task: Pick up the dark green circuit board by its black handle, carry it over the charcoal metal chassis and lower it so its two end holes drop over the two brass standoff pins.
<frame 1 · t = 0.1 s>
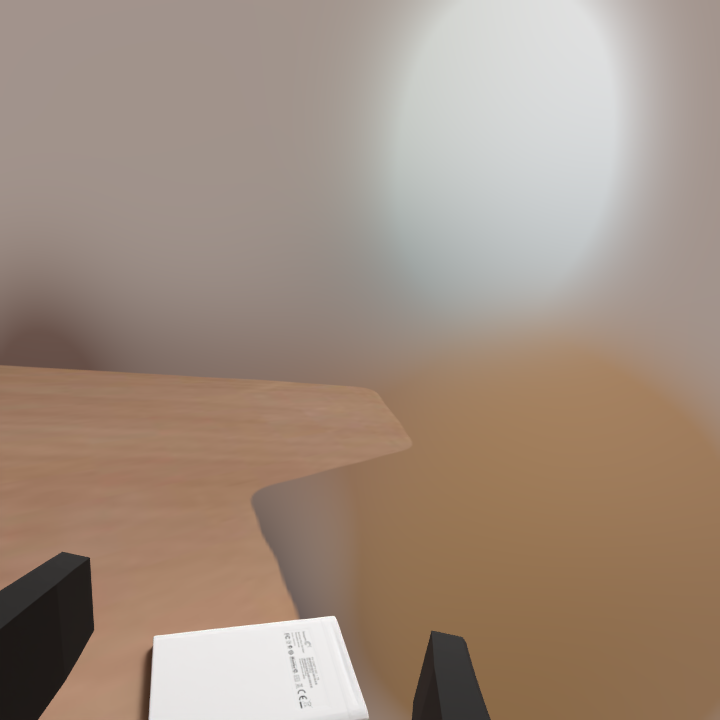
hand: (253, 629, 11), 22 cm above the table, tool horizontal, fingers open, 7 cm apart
external hard drive: (254, 694, 34), on the table
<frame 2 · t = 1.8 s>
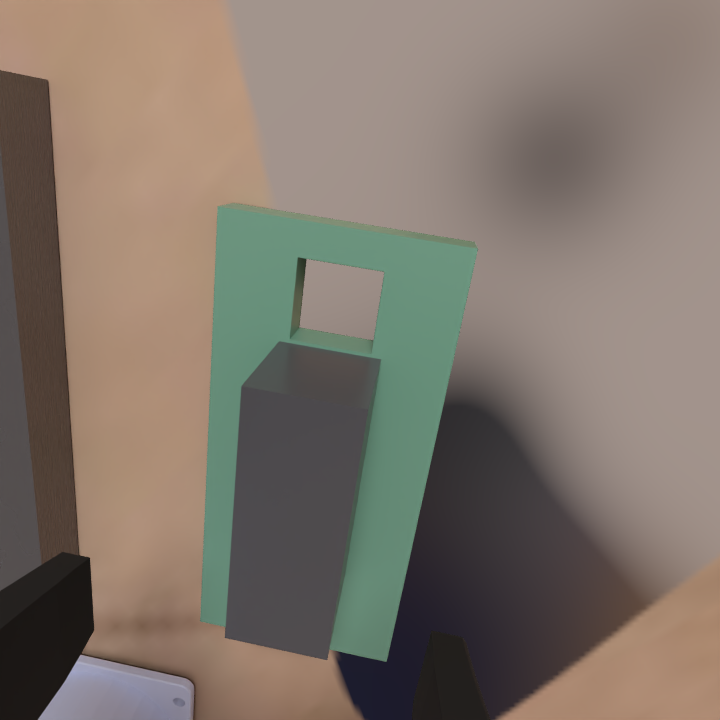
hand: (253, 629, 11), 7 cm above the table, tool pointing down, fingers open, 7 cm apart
board: (321, 448, 18), on the table
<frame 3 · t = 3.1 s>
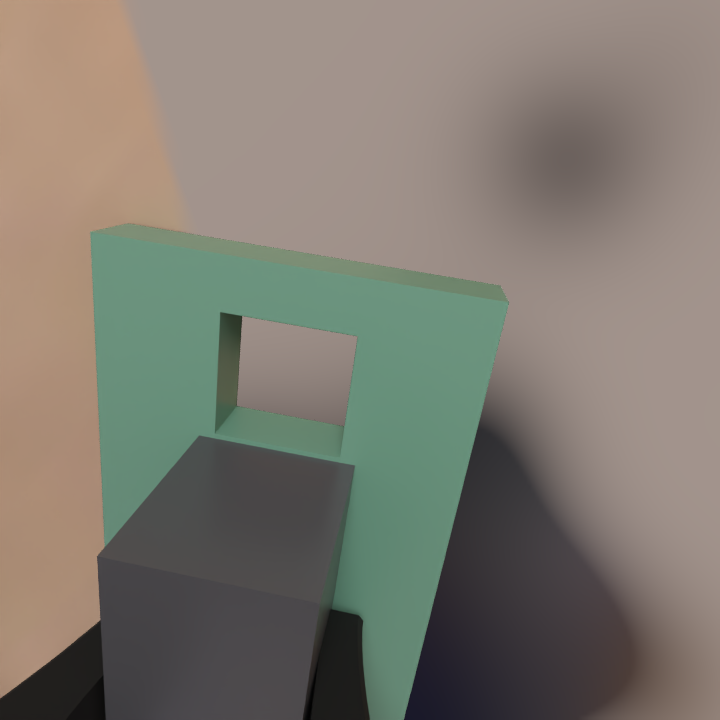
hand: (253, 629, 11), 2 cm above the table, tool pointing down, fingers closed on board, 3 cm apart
board: (276, 570, 13), on the table, touching gripper
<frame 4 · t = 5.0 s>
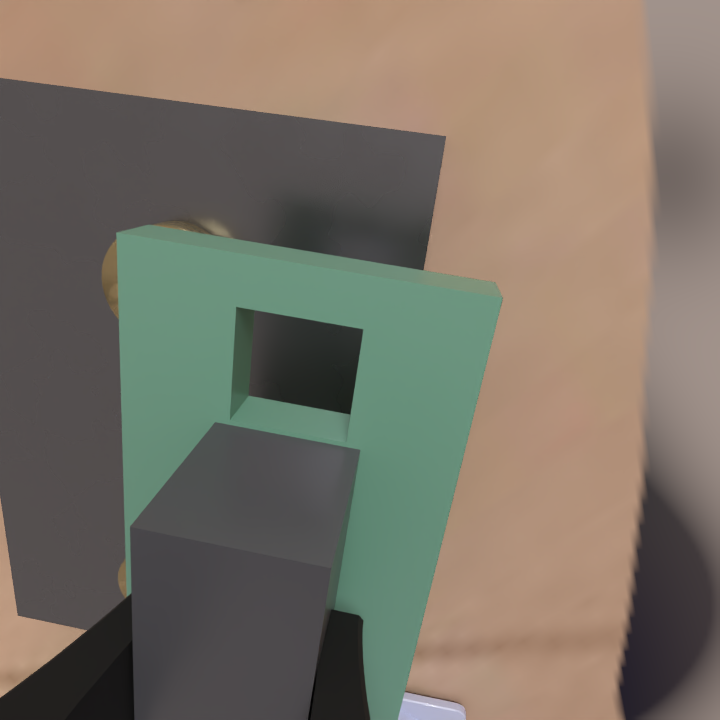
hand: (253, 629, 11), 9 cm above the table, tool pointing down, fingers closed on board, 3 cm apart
board: (284, 551, 13), point 6 cm above the table, touching gripper
chassis: (205, 406, 20), on the table
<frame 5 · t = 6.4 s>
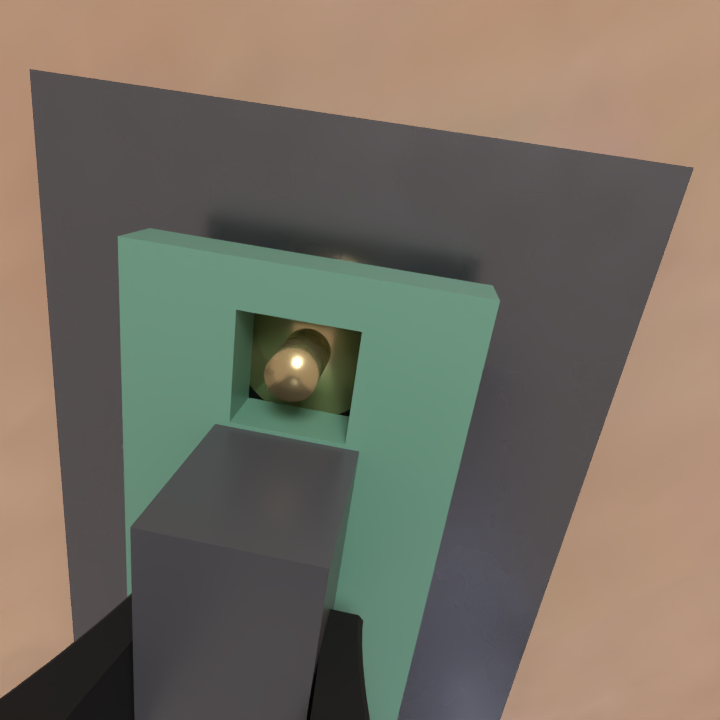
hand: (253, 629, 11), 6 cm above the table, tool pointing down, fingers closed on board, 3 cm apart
board: (284, 552, 13), point 3 cm above the table, touching chassis, gripper
chassis: (314, 471, 17), on the table
when the fingers open (6 cm above the table, at t = 7.0 s): board stays where it is, resting on chassis.
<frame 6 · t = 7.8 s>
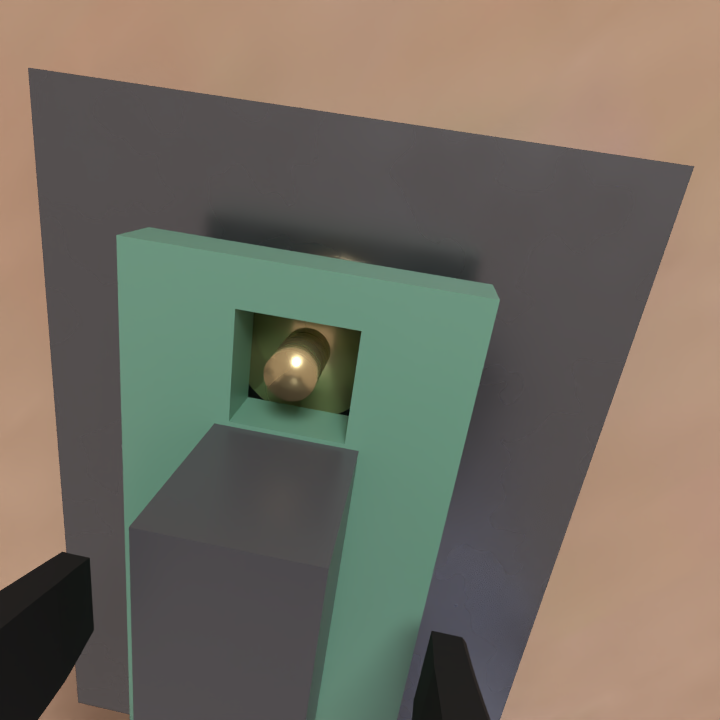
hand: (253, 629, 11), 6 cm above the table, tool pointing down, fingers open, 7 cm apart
board: (284, 552, 13), point 3 cm above the table, touching chassis
chassis: (314, 470, 17), on the table
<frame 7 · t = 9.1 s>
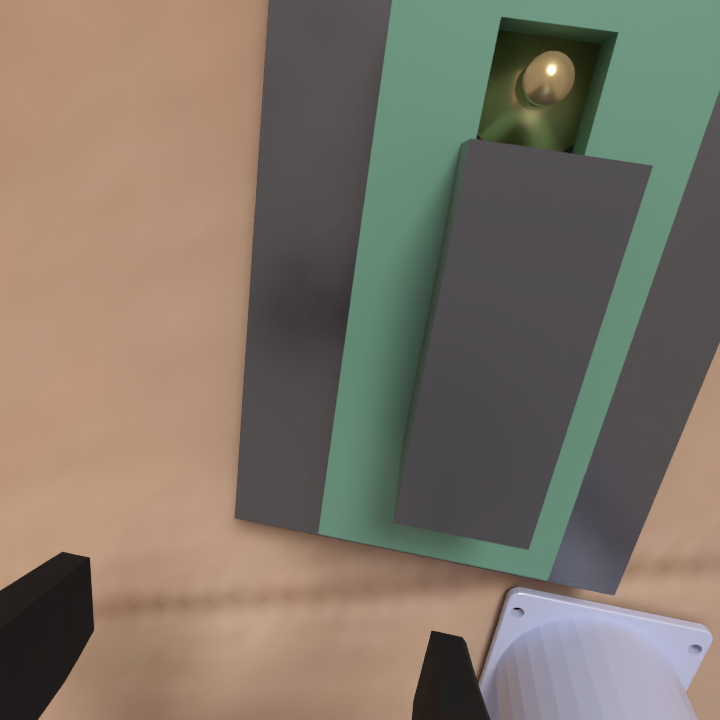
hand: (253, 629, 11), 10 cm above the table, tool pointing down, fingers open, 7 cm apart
board: (483, 309, 15), point 3 cm above the table, touching chassis
chassis: (476, 277, 18), on the table
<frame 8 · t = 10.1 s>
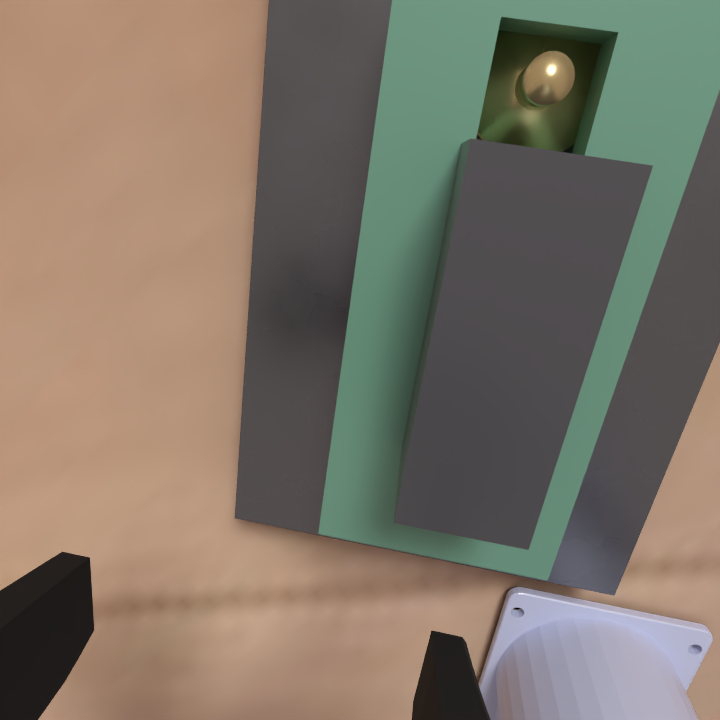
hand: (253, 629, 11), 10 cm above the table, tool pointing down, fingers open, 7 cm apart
board: (483, 309, 15), point 3 cm above the table, touching chassis
chassis: (476, 277, 18), on the table
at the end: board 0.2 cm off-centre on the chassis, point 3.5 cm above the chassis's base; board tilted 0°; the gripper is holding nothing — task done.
